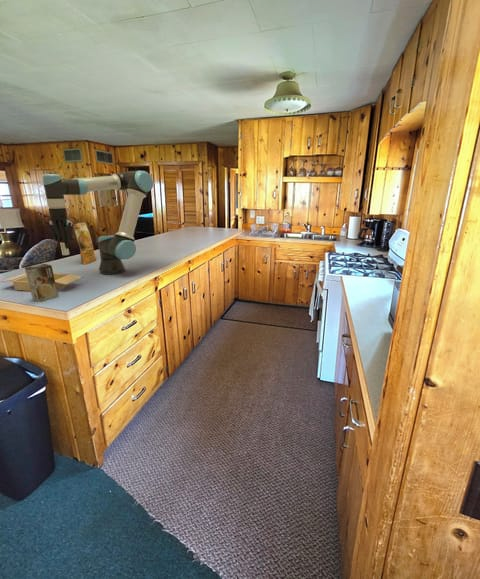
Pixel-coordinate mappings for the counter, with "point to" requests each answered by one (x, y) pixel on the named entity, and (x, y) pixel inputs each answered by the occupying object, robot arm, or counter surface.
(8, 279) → the flap
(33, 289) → the coffee box
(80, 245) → the pancake mix bag
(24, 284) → the tan shallow open box
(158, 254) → the counter surface
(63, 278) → the flap
